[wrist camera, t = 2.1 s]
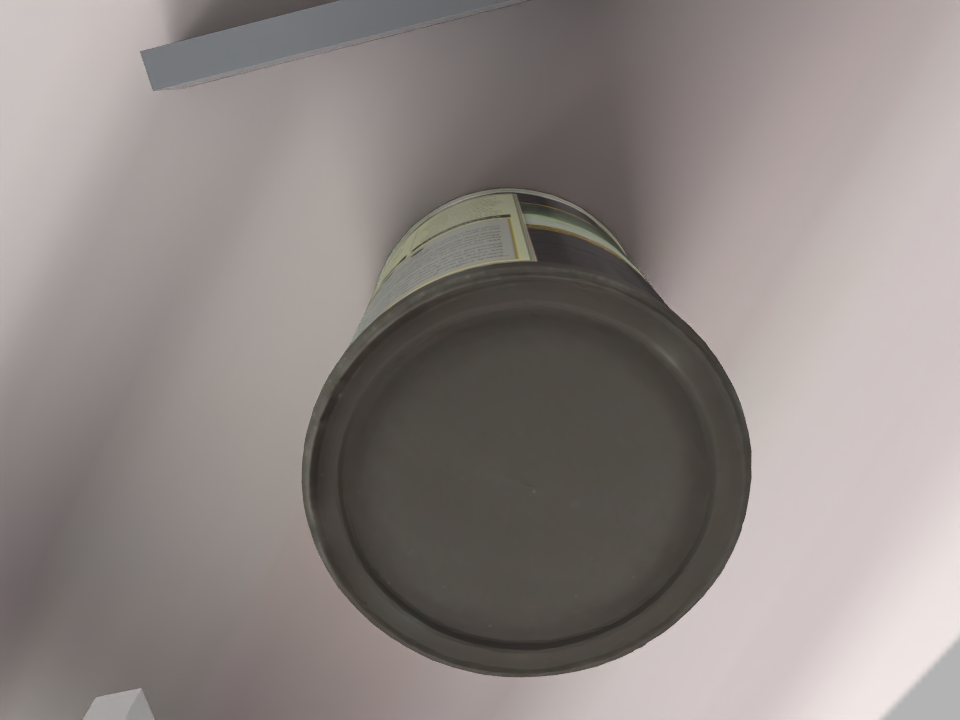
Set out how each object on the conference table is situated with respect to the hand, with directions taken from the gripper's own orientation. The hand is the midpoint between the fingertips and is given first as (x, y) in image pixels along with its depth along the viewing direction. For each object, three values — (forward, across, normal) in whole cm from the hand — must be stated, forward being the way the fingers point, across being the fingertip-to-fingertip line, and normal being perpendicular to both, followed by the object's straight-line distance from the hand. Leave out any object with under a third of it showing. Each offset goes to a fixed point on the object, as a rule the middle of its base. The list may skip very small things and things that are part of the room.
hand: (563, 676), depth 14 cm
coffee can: (+21, 0, 0) cm, 21 cm away
